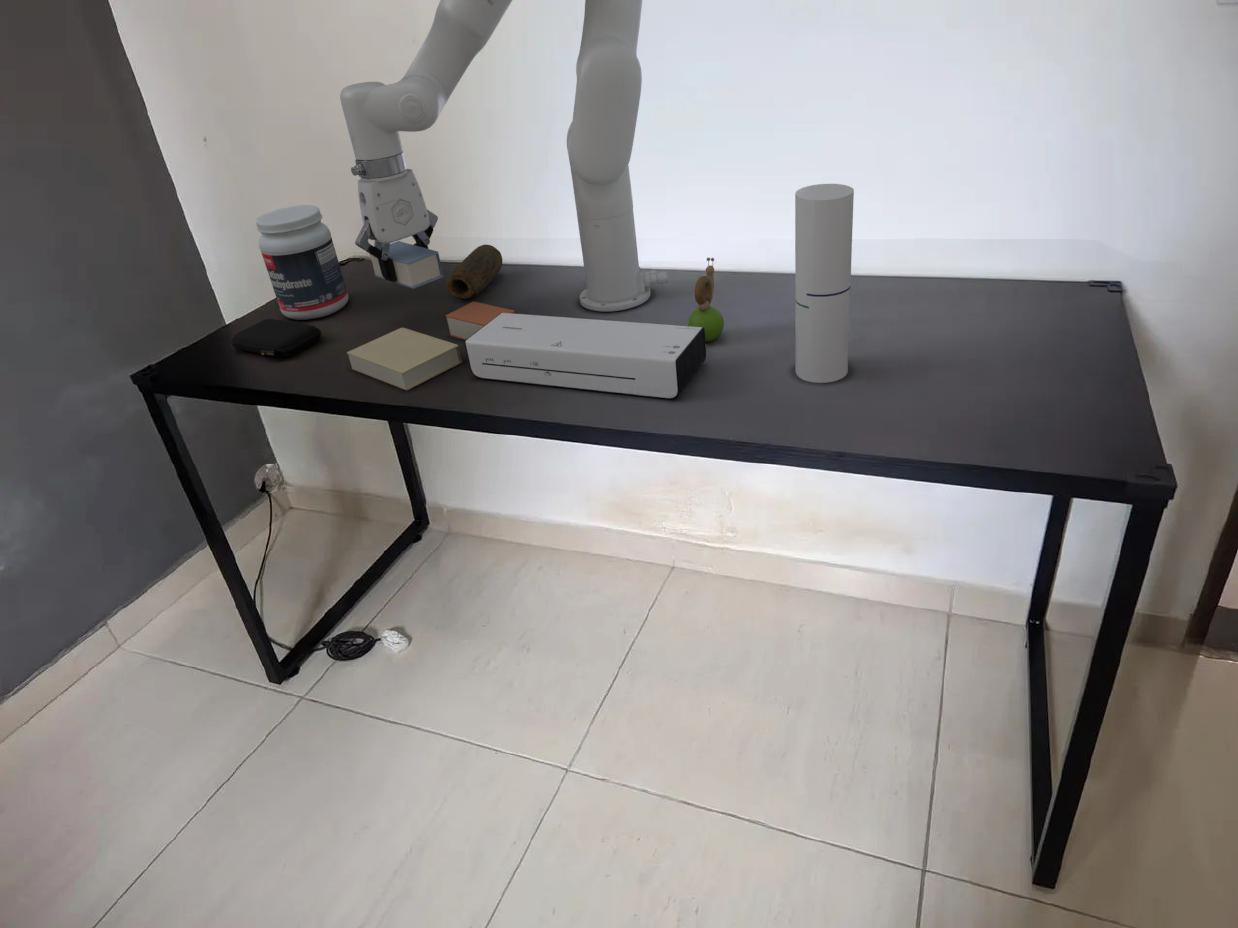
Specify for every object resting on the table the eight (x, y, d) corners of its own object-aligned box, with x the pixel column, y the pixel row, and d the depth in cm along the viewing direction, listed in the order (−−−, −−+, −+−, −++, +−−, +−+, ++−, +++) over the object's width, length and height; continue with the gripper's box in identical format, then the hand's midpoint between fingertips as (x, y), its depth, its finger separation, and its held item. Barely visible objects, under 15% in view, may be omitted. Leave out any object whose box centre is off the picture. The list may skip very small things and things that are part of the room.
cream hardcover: (462, 362, 138) (458, 345, 136) (406, 390, 131) (402, 372, 130) (406, 343, 147) (402, 327, 145) (351, 369, 140) (346, 352, 139)
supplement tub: (270, 324, 162) (236, 227, 152) (302, 298, 173) (273, 206, 163) (332, 322, 160) (302, 223, 150) (362, 295, 170) (335, 201, 160)
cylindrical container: (837, 386, 118) (842, 201, 104) (787, 378, 121) (786, 198, 108) (854, 364, 122) (861, 185, 109) (806, 356, 126) (807, 182, 113)
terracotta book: (518, 331, 146) (514, 310, 144) (490, 346, 142) (486, 325, 140) (478, 321, 152) (473, 301, 150) (450, 336, 148) (445, 315, 146)
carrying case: (224, 354, 152) (282, 365, 145) (218, 338, 150) (276, 348, 143) (271, 330, 159) (328, 339, 153) (266, 314, 158) (323, 323, 151)
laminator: (472, 378, 132) (463, 341, 129) (512, 344, 142) (505, 309, 138) (680, 401, 119) (676, 360, 116) (709, 362, 128) (707, 323, 125)
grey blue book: (443, 276, 147) (438, 251, 144) (413, 288, 143) (407, 263, 141) (404, 265, 154) (398, 241, 152) (374, 276, 151) (368, 251, 149)
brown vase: (474, 275, 173) (467, 242, 170) (507, 273, 171) (501, 240, 168) (447, 304, 161) (439, 269, 157) (482, 303, 159) (475, 268, 156)
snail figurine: (731, 331, 136) (728, 257, 130) (717, 348, 132) (713, 273, 125) (698, 329, 139) (694, 256, 132) (684, 345, 134) (678, 271, 128)
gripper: (346, 183, 132) (376, 294, 141) (439, 155, 142) (461, 262, 151) (322, 178, 137) (353, 286, 146) (414, 152, 146) (437, 255, 156)
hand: (408, 273), depth 148 cm, fingers closed on grey blue book, 6 cm apart
